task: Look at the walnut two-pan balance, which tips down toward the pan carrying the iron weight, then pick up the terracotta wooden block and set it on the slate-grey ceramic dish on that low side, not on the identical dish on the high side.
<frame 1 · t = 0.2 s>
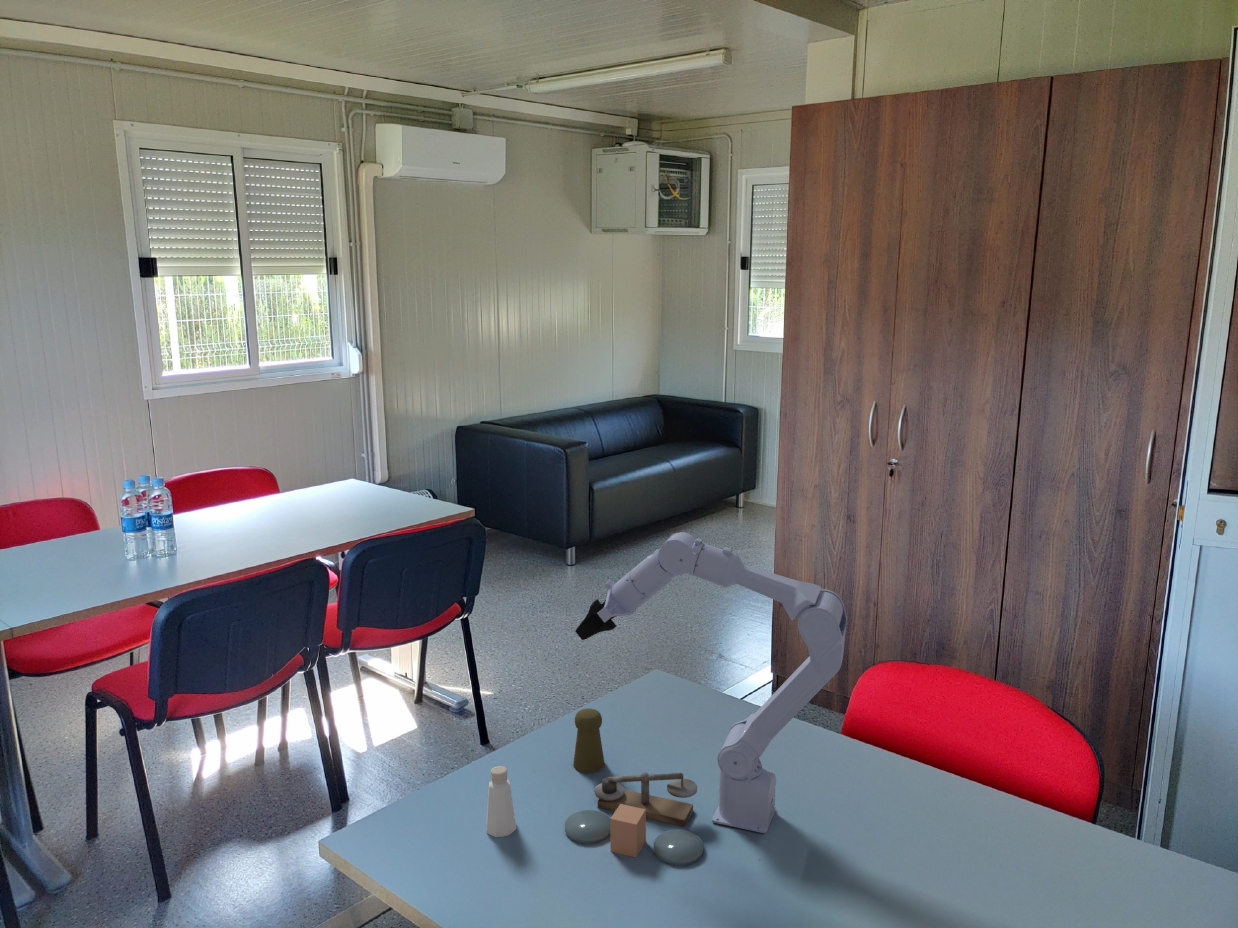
hand: (588, 627, 163), 31 cm above the table, tool tilted 45°, fingers open, 7 cm apart
cork: (589, 765, 177), on the table
block: (628, 846, 152), on the table
balance: (645, 808, 163), on the table
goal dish: (588, 828, 157), on the table
salt shaker: (501, 828, 157), on the table
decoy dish: (678, 849, 151), on the table
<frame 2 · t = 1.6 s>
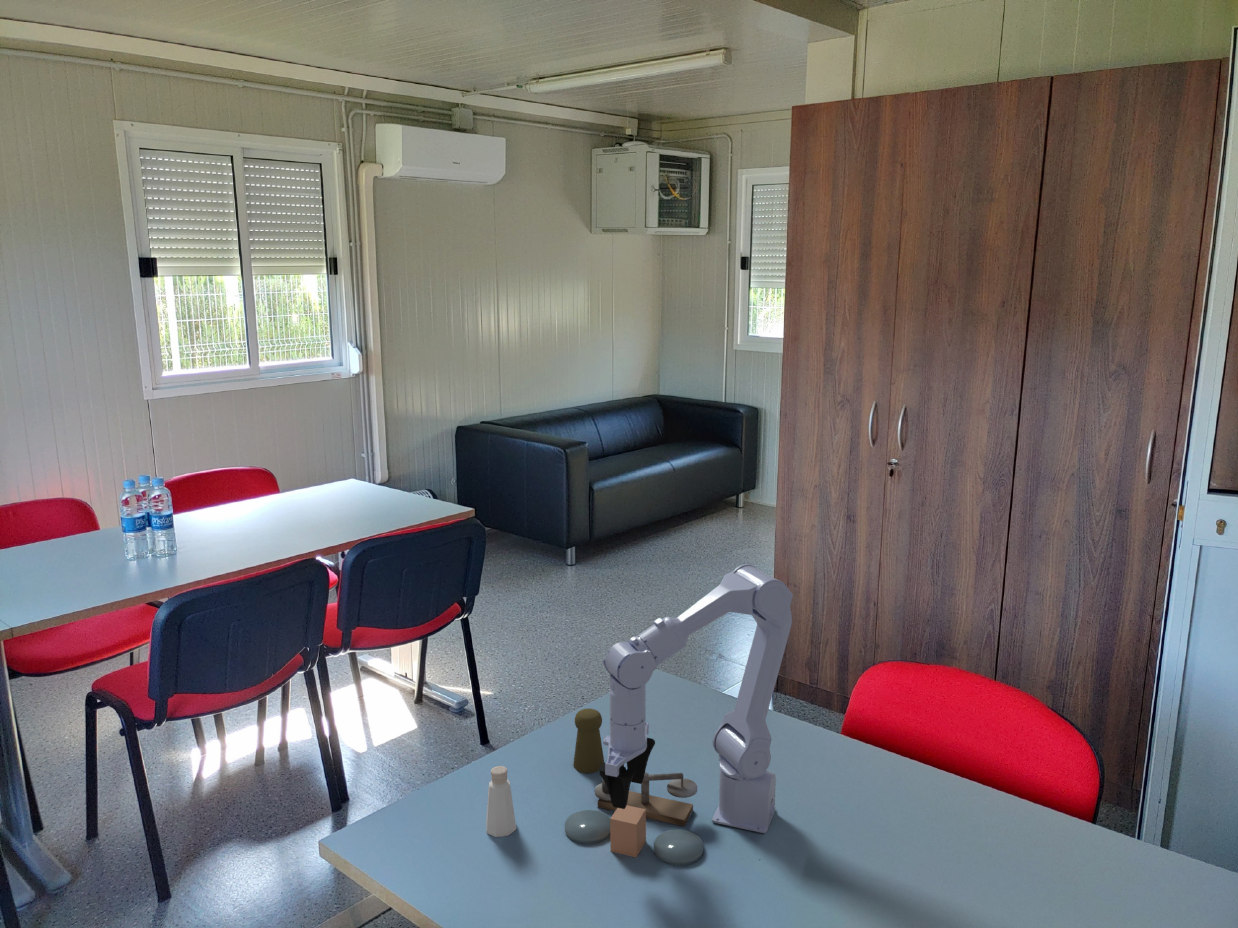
hand: (627, 793, 150), 10 cm above the table, tool pointing down, fingers open, 7 cm apart
nothing on the table moved.
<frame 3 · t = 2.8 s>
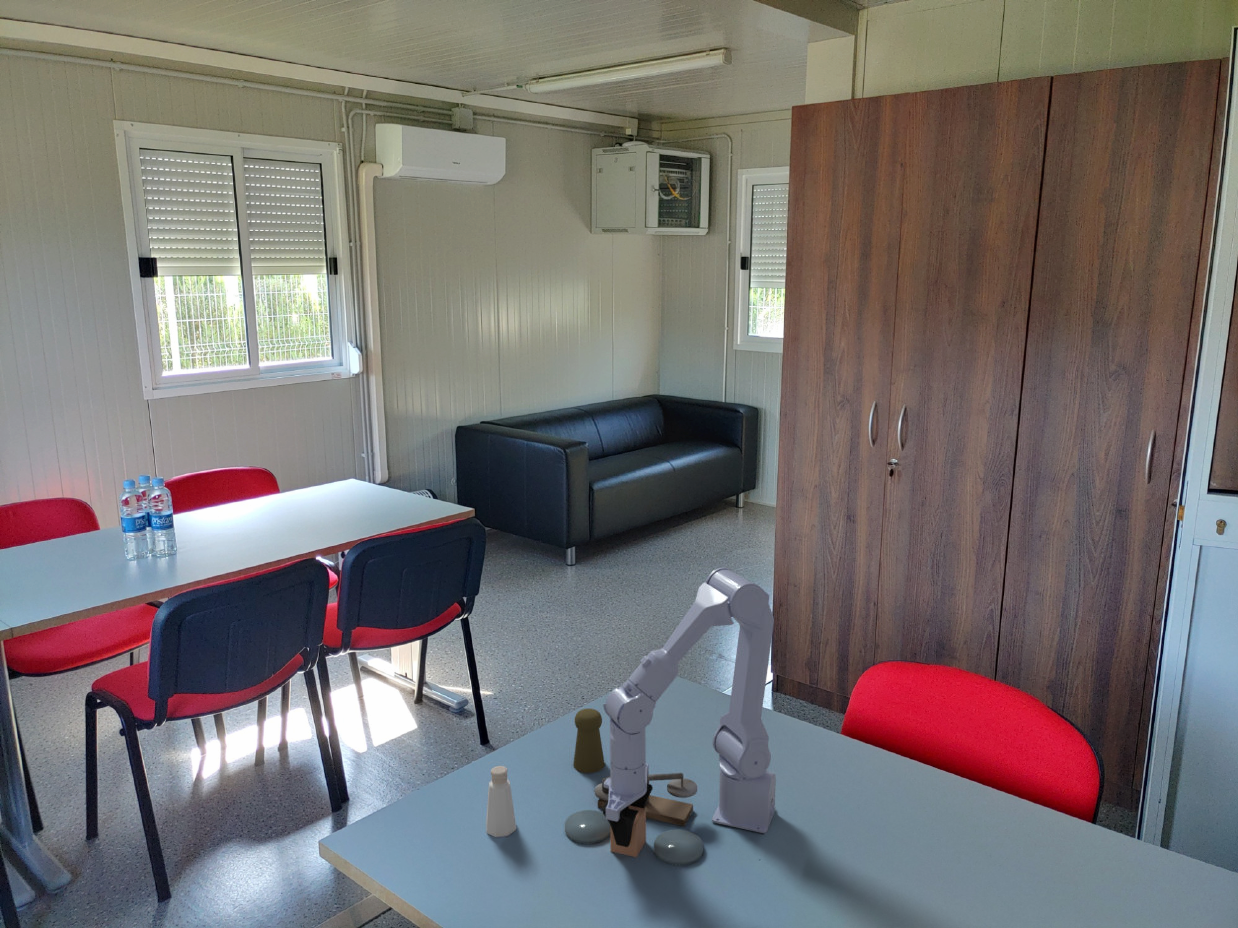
hand: (628, 835, 152), 2 cm above the table, tool pointing down, fingers closed on block, 4 cm apart
block: (628, 846, 152), on the table, touching gripper
everything else where it was.
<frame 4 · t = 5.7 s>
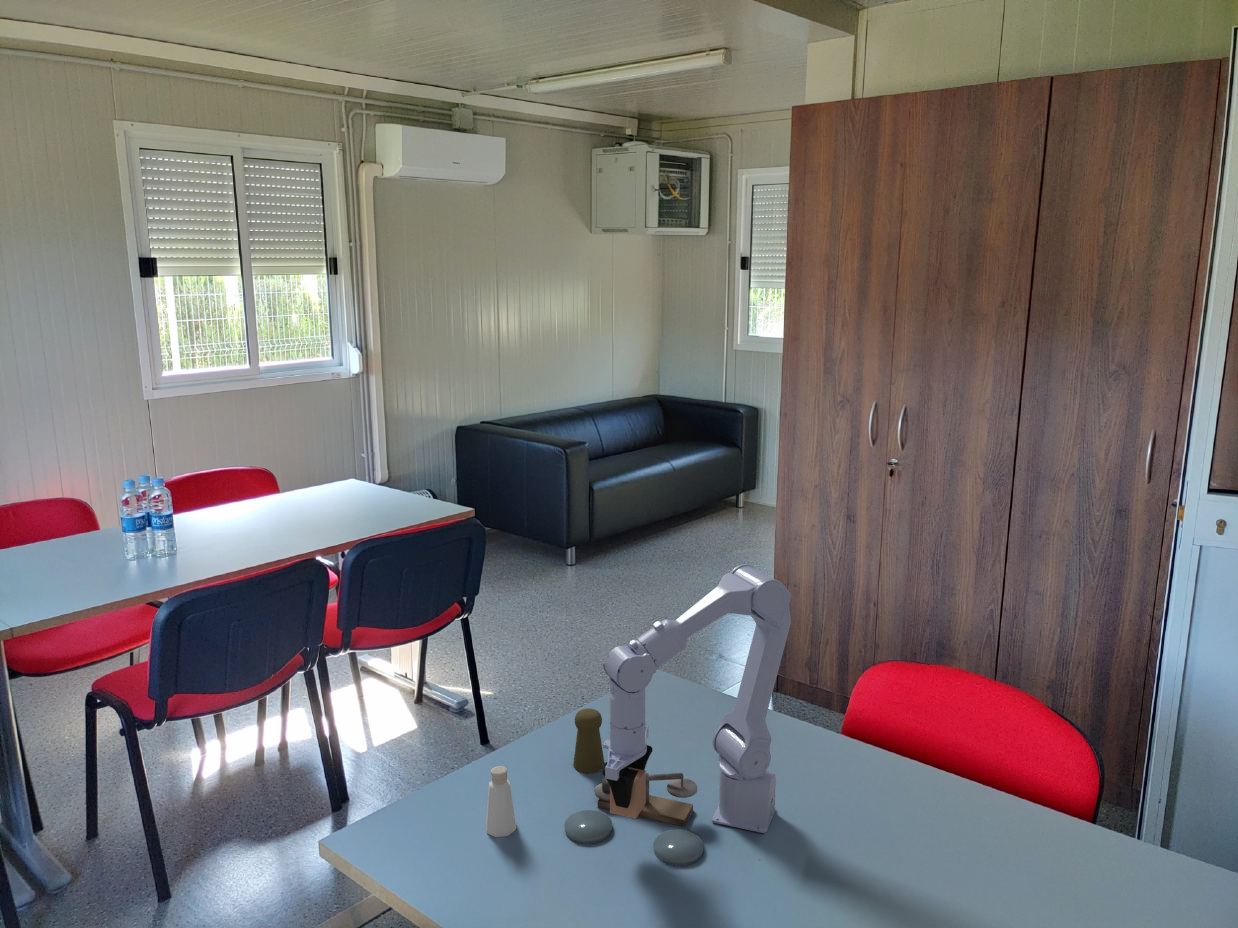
hand: (627, 797, 150), 9 cm above the table, tool pointing down, fingers closed on block, 4 cm apart
block: (627, 807, 151), point 7 cm above the table, touching gripper
everything else where it was.
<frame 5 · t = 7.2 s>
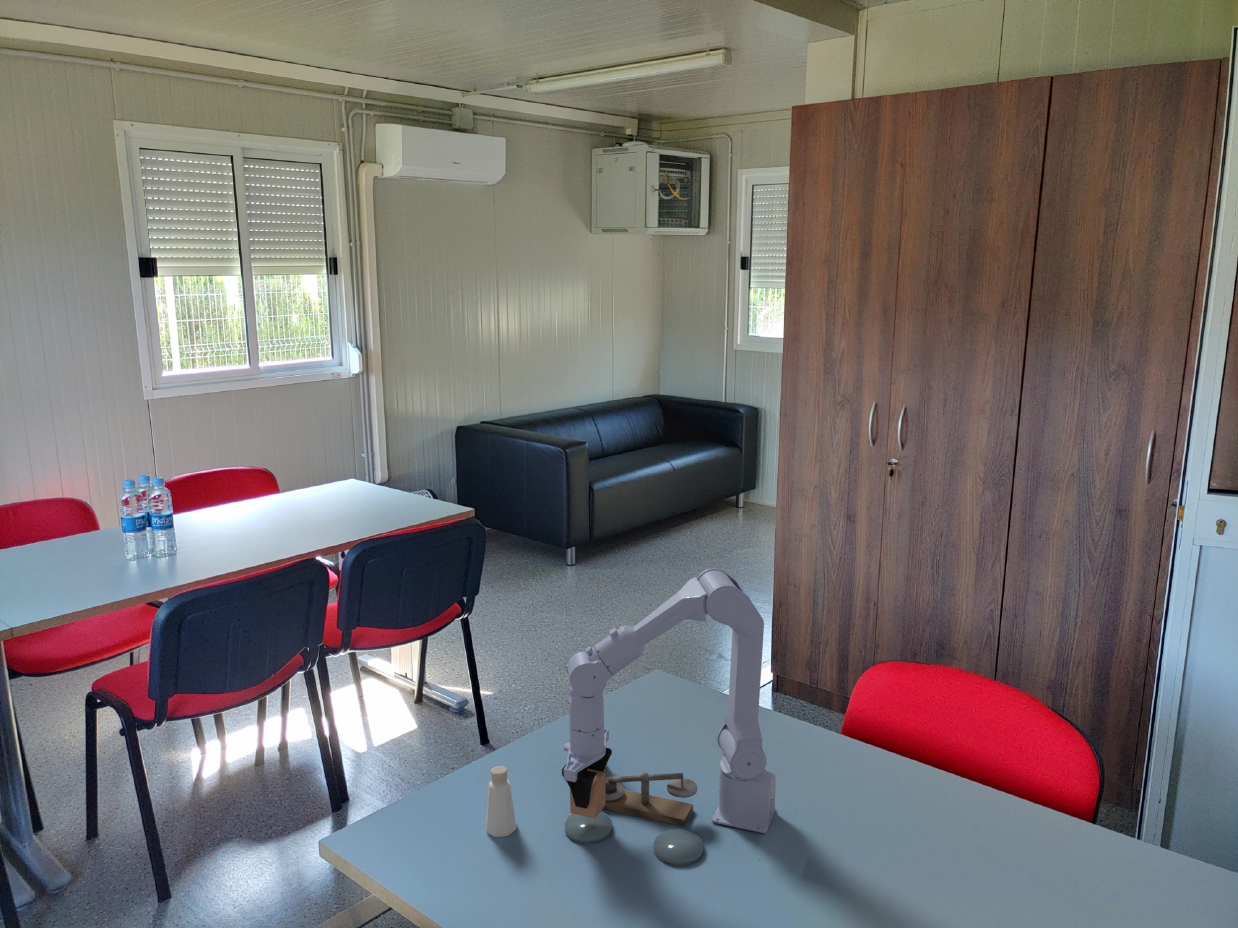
hand: (587, 798, 156), 6 cm above the table, tool pointing down, fingers closed on block, 4 cm apart
block: (588, 808, 156), point 4 cm above the table, touching gripper
everything else where it was.
when the fingers open (4 cm above the table, at t = 8.7 s): block drops 1 cm, resting on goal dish.
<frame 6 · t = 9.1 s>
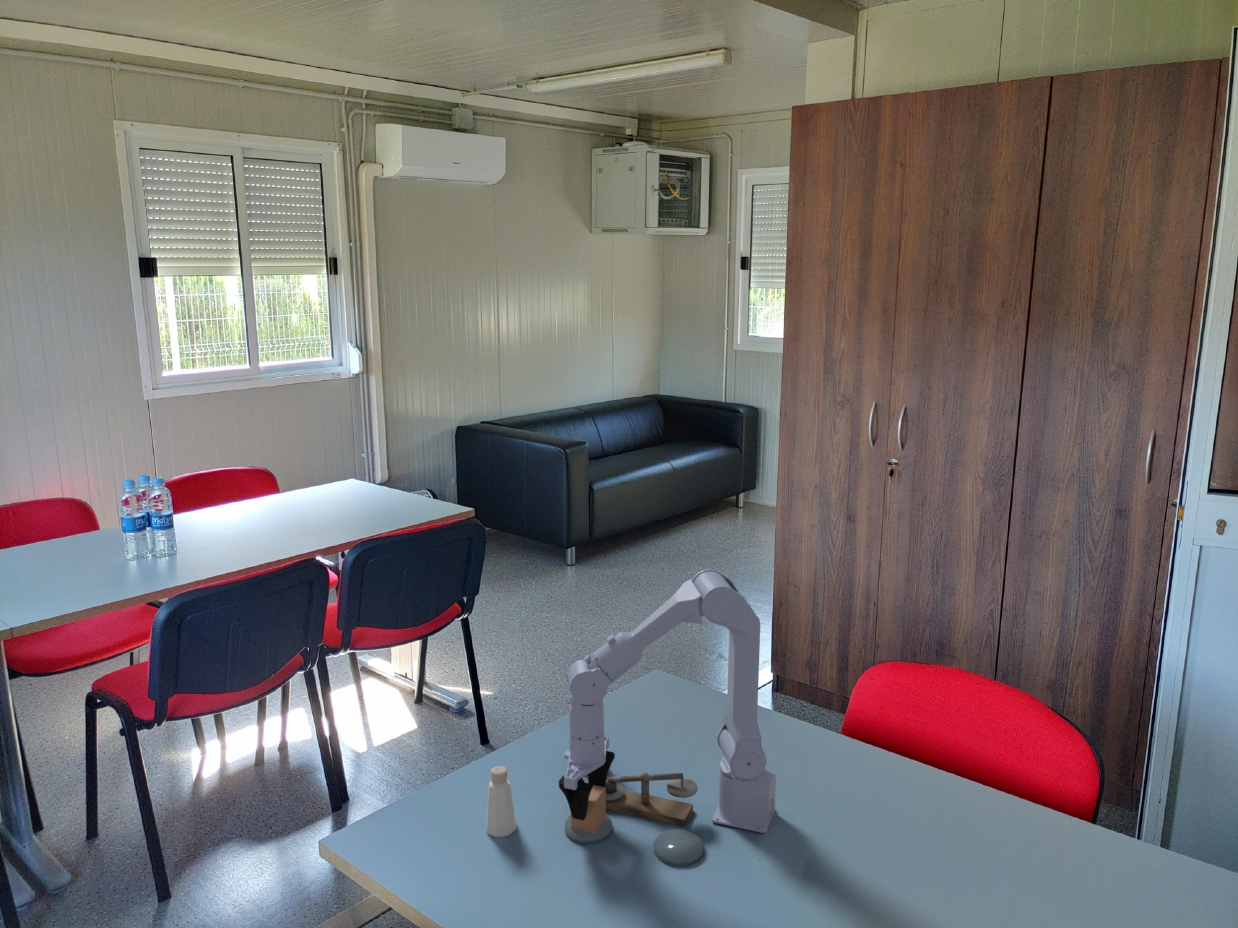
hand: (588, 805, 156), 4 cm above the table, tool pointing down, fingers open, 7 cm apart
block: (588, 823, 157), point 1 cm above the table, touching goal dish
everything else where it was.
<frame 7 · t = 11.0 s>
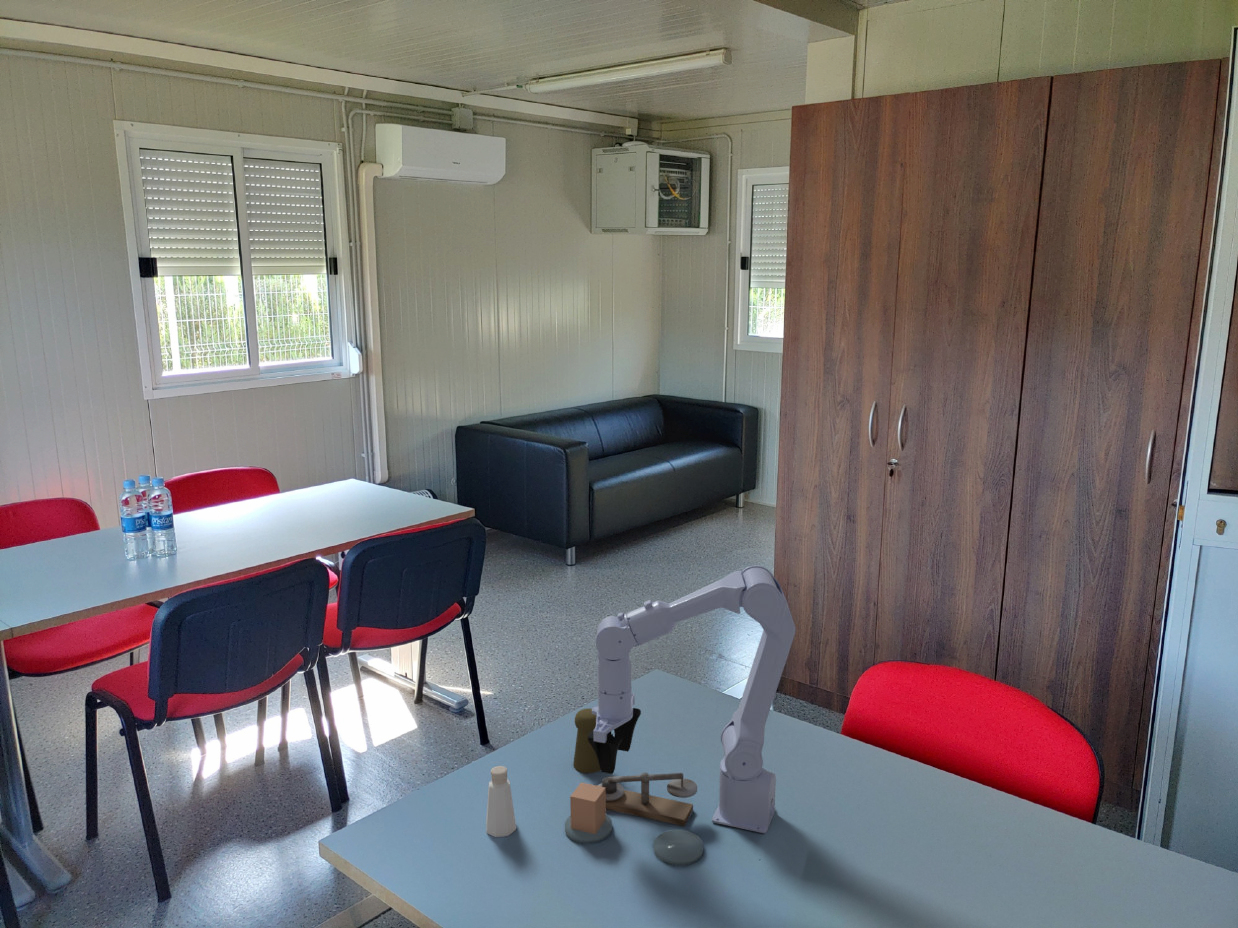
hand: (615, 760, 159), 10 cm above the table, tool pointing down, fingers open, 7 cm apart
nothing on the table moved.
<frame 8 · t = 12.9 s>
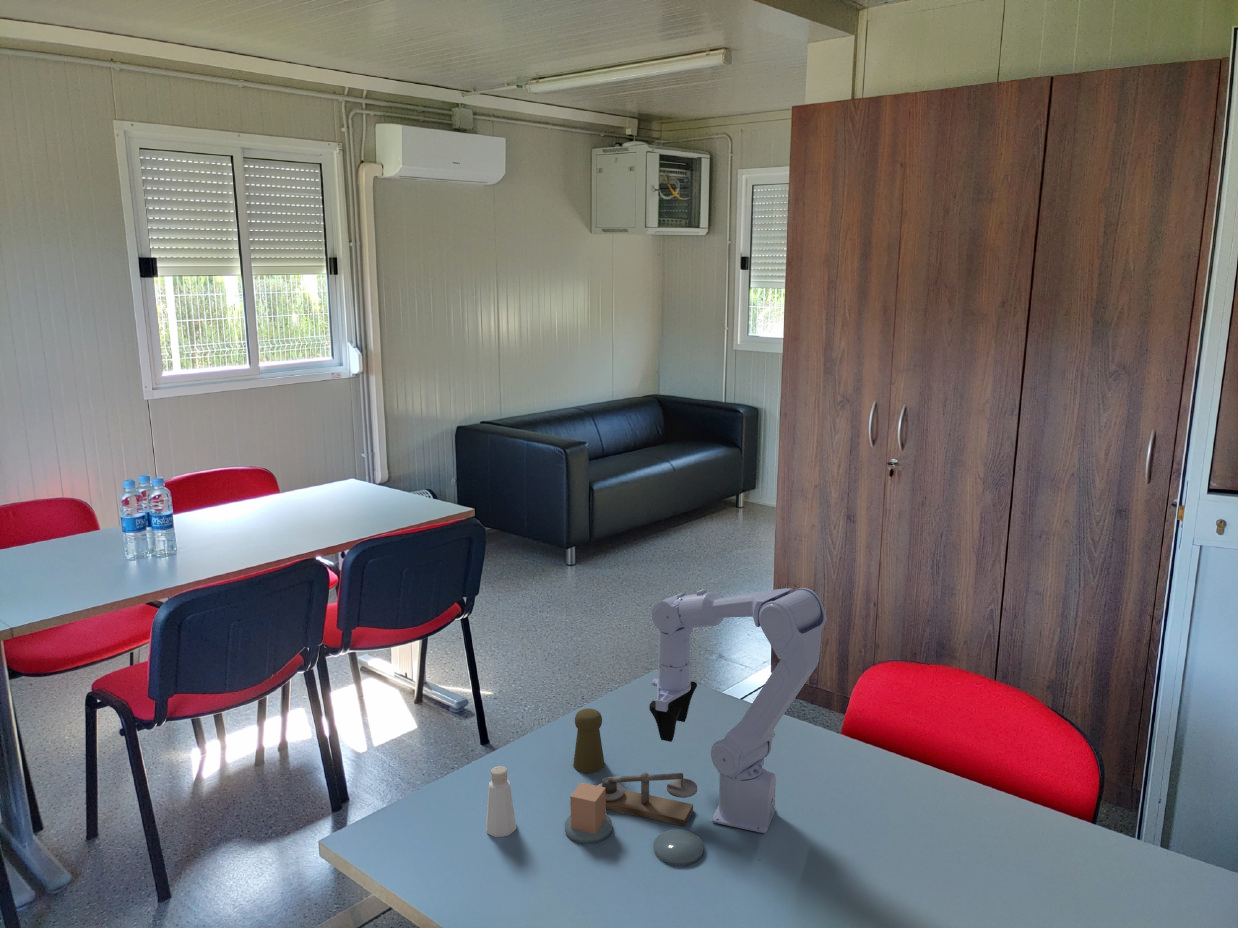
hand: (673, 729, 169), 10 cm above the table, tool pointing down, fingers open, 7 cm apart
nothing on the table moved.
at the end: block 0.0 cm off-centre on the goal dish, point 1.0 cm above the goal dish's base; block tilted 0°; the gripper is holding nothing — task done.
